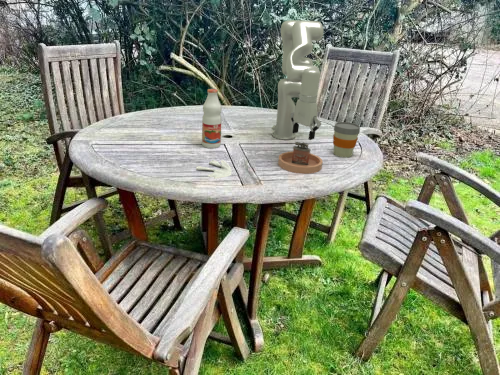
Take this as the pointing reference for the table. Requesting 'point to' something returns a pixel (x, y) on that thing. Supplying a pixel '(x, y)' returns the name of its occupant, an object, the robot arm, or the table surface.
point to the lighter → (301, 154)
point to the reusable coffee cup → (345, 138)
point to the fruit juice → (211, 120)
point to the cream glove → (217, 174)
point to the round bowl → (313, 166)
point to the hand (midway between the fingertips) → (303, 136)
